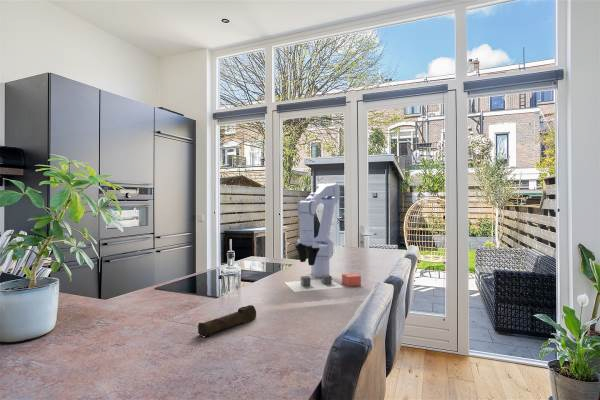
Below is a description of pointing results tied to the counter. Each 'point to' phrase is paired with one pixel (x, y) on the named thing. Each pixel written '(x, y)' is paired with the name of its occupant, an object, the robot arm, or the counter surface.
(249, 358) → the counter surface
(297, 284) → the breaker panel
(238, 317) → the hand tool
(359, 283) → the coral red cube
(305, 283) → the block
